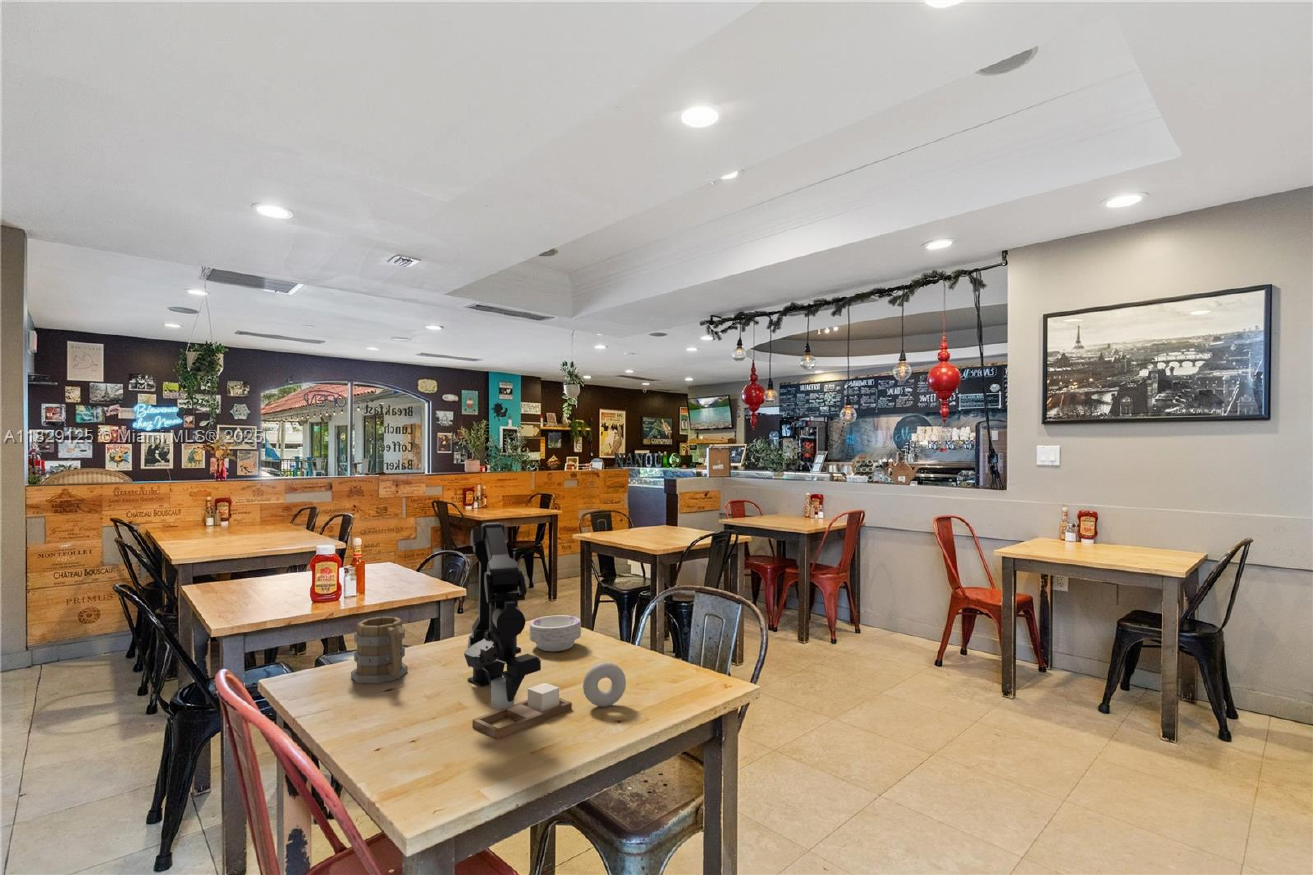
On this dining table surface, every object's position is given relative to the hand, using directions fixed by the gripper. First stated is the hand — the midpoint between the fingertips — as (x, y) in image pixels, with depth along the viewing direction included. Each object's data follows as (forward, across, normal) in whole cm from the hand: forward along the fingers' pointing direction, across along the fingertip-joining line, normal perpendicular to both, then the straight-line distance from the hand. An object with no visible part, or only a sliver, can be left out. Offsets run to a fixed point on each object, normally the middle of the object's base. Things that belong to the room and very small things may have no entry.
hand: (502, 698), depth 138 cm
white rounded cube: (+6, 0, +11) cm, 12 cm away
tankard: (+6, -47, -2) cm, 47 cm away
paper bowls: (+6, -34, +44) cm, 55 cm away
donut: (+6, +9, +22) cm, 24 cm away
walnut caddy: (+6, 0, +6) cm, 8 cm away
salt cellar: (+1, 0, 0) cm, 1 cm away
